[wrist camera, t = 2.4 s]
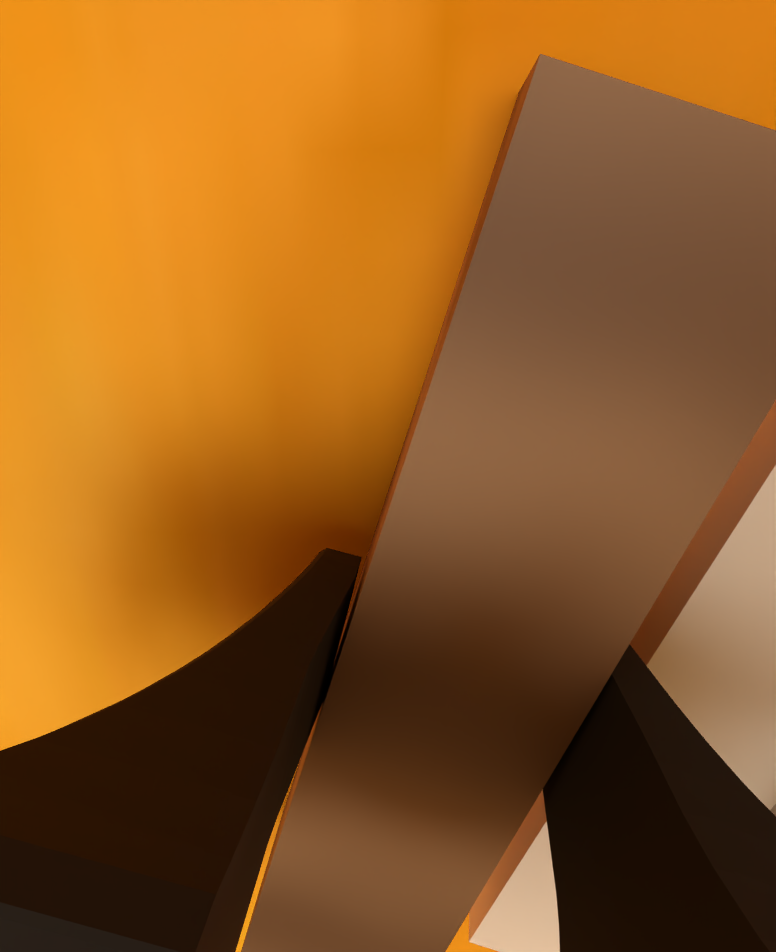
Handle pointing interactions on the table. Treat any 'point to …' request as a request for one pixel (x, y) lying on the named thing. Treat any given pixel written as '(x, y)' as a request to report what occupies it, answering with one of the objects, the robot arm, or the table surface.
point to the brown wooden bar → (532, 500)
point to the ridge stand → (680, 682)
